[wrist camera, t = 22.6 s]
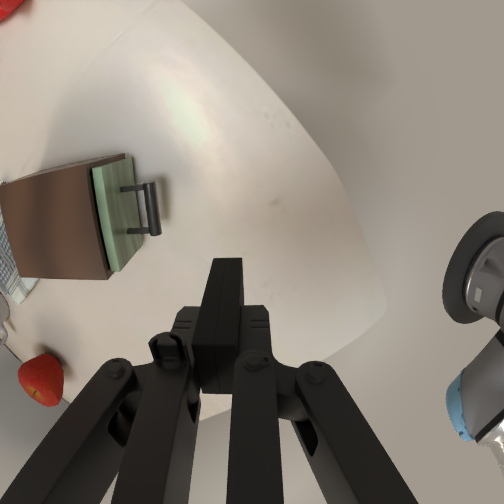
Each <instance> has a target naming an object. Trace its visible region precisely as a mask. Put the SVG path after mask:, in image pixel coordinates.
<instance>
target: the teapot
mask: <svg viewBox="0 0 504 504" xmlns="http://www.w3.org/2000/svg"><path fill="white" fill-rule="evenodd" d="M23 1H24V0H0V21H1V20H3V19H4V18H5V17H7V16H8V15H9V14H11V13H12V12H13V11H14V10H15V9H16V8H17V7H18V6H19V5H20V4H21V3H22V2H23Z"/></svg>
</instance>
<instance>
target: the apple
mask: <svg viewBox="0 0 504 504" xmlns="http://www.w3.org/2000/svg"><path fill="white" fill-rule="evenodd" d="M18 378H19V382H20V384H21V385H22V387H23V388H24V390H25V391H26V392H27V393H28V395H29V396H31V398H33V399H34V400H36V401H37V402H39V403H41V404H42V405H45V406H47V407H50V406H56V405H58V404H59V402H60V400H61V399H62V395H63V385H64V373H63V369H62V367H61V365H60V362H59V361H58V360H57V359H56V358H55V357H54V356H51V355H47V354H42V355H39V356H37V357H35V358H33V359H31V360H29V361H27V362H25V363H23V364H22V365H21V367H20V369H19V370H18Z"/></svg>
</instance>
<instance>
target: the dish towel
mask: <svg viewBox="0 0 504 504" xmlns="http://www.w3.org/2000/svg"><path fill="white" fill-rule="evenodd" d="M3 184H4V183H2V184H1V185H3ZM38 279H39V278H22V277H20V276H19V273H18V270H17V267H16V264H15V261H14V258H13V255H12V252H11V248H10V245H9V241H8V237H7V234H6V230H5V226H4V221H3V217H2V212H1V207H0V287H1V289H2V291H3V292H4V294H5V295H6V294H7V293H8V294H9V296H10V297H11V298H12V300H13V302H14V303H16V304H17V305H20V304H21V303H22V302H23V300H24V299H25V298H26V297H27V295H28V293H29V292H30V290H31V289H32V288H33V287H34V285H35V283H36V282H37V281H38Z"/></svg>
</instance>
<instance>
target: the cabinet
mask: <svg viewBox="0 0 504 504" xmlns="http://www.w3.org/2000/svg"><path fill="white" fill-rule="evenodd" d="M121 159H125V154H118V155H112V156H107V157H101V158H96V159H91V160H86V161H81V162H76V163H72V164H67V165H63V166H59V167H54V168H50V169H46V170H43V171H39V172H36V173H33V174H30V175H27V176H24V177H21V178H19V179H16V180H13V181H11V182H8V183H5V184H3V185H0V207H1V212H2V217H3V221H4V226H5V230H6V234H7V237H8V241H9V245H10V248H11V252H12V255H13V258H14V261H15V264H16V267H17V270H18V273H19V276H20V277H22V278H46V279H78V280H108V279H109V278H110V276H111V275H112V274H113V273H114V272H115V271H111V268H110V264H109V260H108V258H107V259H106V257H105V253H104V249H103V244H102V240H101V235H100V230H99V225H98V220H97V215H96V209H95V203H94V197H93V191H92V184H91V176H90V170H92V168H94V167H98V166H101V165H104V164H107V163H111V162H114V161H117V160H121Z"/></svg>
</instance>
